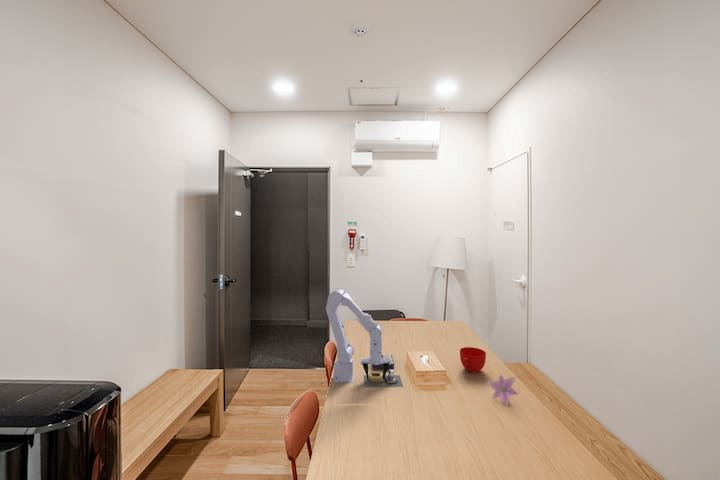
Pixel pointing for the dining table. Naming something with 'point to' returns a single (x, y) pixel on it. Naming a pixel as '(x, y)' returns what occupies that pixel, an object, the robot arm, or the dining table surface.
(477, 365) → the ceramic cup
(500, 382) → the lily
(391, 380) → the silver disc with post
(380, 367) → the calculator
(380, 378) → the bronze square frame
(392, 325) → the dining table surface
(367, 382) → the mat
